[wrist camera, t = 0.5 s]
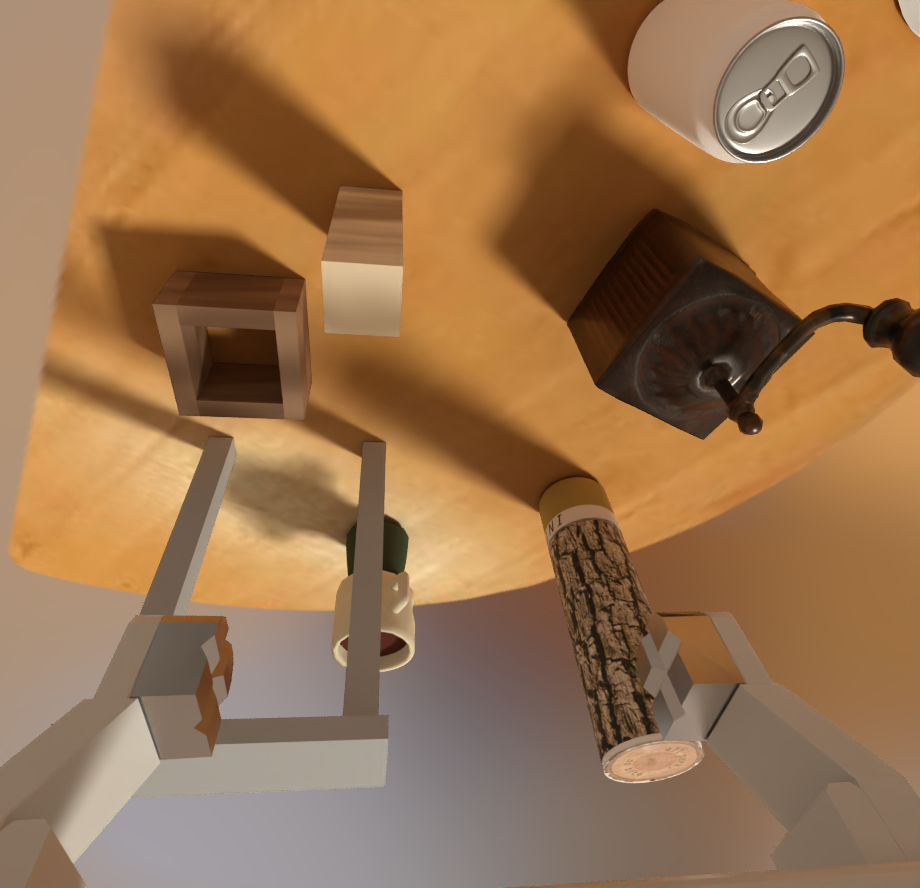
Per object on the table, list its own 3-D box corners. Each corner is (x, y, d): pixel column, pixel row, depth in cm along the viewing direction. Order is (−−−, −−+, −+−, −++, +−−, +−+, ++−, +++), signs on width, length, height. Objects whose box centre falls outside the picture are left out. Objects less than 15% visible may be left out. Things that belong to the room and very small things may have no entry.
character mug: (381, 575, 64) (378, 690, 54) (321, 555, 61) (306, 672, 51) (436, 516, 59) (443, 631, 49) (373, 490, 56) (368, 607, 46)
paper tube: (603, 466, 56) (707, 732, 37) (606, 513, 61) (701, 773, 42) (532, 481, 57) (600, 751, 38) (541, 526, 61) (606, 789, 42)
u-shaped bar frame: (195, 403, 48) (39, 750, 27) (392, 410, 50) (388, 738, 29) (207, 458, 52) (79, 799, 31) (390, 463, 54) (385, 786, 33)
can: (603, 62, 35) (675, 103, 26) (695, -44, 32) (813, -40, 23) (665, 140, 38) (750, 202, 29) (754, 50, 35) (880, 87, 26)
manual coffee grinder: (666, 376, 50) (767, 538, 36) (561, 323, 46) (631, 483, 32) (815, 213, 42) (1018, 342, 28) (704, 129, 38) (879, 234, 24)
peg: (340, 185, 38) (321, 260, 29) (402, 190, 39) (403, 266, 29) (341, 245, 41) (324, 332, 31) (399, 250, 41) (399, 336, 32)
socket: (175, 270, 41) (151, 303, 37) (305, 279, 42) (295, 312, 38) (197, 376, 46) (179, 415, 43) (311, 381, 47) (304, 419, 44)
